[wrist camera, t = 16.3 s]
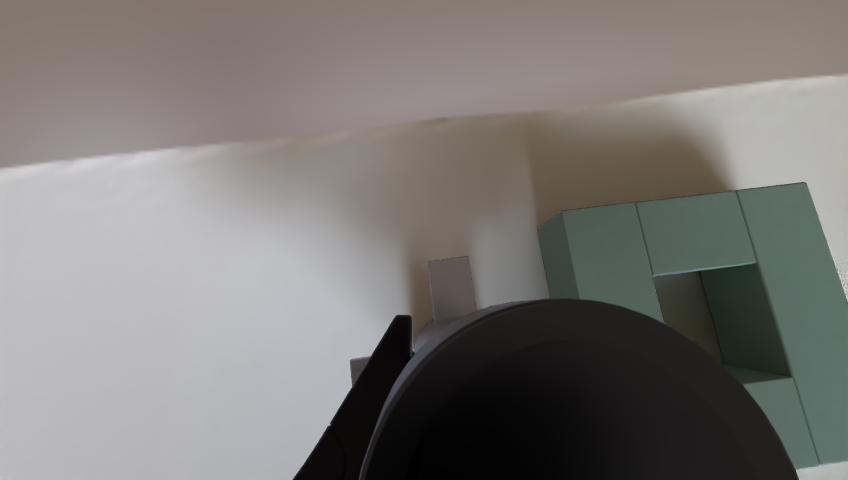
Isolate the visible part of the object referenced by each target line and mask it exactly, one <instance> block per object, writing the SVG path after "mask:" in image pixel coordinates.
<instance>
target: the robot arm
mask: <svg viewBox="0 0 848 480" xmlns="http://www.w3.org/2000/svg"><path fill="white" fill-rule="evenodd" d="M411 359H412V317H411V315H397V316H395V318H394V319H393V321H392V322H391V324H390V326H389V327H388V329H387V331H386V332H385V334H384V336H383V337H382V339H381V340H380V342H379V344H378V345H377V347H376V349H375V350H374V352H373V354H372V355H371V357H370V358H369V360H368V362H367V363H366V365H365V367H364V368H363V370H362V372H361V373H360V375H359V376H358V378H357V380H356V381H355V383H354V385H353V386H352V388H351V390H350V391H349V393H348V394H347V396H346V398H345V399H344V401H343V403H342V404H341V406H340V408H339V409H338V411H337V412H336V414H335V416H334V417H333V419H332V421H331V422H330V425H331V426H328V427H327V429H326V430H325V432H324V433H323V435H322V437H321V438H320V440H319V442H318V443H317V445H316V446H315V448H314V449H313V451H312V452H311V454H310V455H309V457H308V459H307V460H306V462H305V463H304V465H303V466H302V467H301V469H300V470H299V471H298V473H297V474H296V476H295V477H294V478H293V480H359V477H360V472H361V468H362V464H363V461H364V458H365V455H366V452H367V449H368V446H369V444H370V441H371V438H372V435H373V432H374V430H375V427H376V424H377V422H378V419H379V417H380V414H381V411H382V409H383V406H384V404H385V401H386V399H387V397H388V395H389V393H390V391H391V389H392V387H393V385H394V383H395V381H396V380H397V378H398V377H399V375H400V374H401V372H402V371H403V369H404V368H405V366H406V364H407V363H408V362H409V361H410V360H411Z"/></svg>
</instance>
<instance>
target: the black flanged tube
mask: <svg viewBox="0 0 848 480" xmlns="http://www.w3.org/2000/svg"><path fill="white" fill-rule="evenodd" d="M427 270H428V277H429V285H430V293H431V300H432V308H433V316H434V319H432V320H431V321H430V322H428V323H427V324H426V325H425V326H424V327H423V328H422V330H421V331H420V333H419V335H418V337H417V340H416V343H415V349H414V351H412V359H411V360H410V361H409V362H408V363H407V364H406V366H405V368H404V369H403V371H402V372H401V374H400V375H399V377H398V378H397V380H396V381H395V383H394V385H393V387H392V389H391V391H390V393H389V395H388V397H387V399H386V401H385V404H384V406H383V409H382V411H381V414H380V417H379V419H378V422H377V424H376V427H375V430H374V432H373V435H372V438H371V441H370V444H369V446H368V449H367V452H366V455H365V458H364V461H363V464H362V468H361V472H360V477H359V480H799V478H798V476H797V473H796V470H795V468H794V465H793V463H792V461H791V459H790V457H789V455H788V453H787V451H786V449H785V447H784V445H783V443H782V441H781V439H780V437H779V435H778V434H777V432H776V430H775V429H774V427H773V426H772V424H771V422H770V421H769V419H768V418H767V416H766V414H765V413H764V411H763V410H762V409H761V407H760V406H759V405H758V403H757V402H756V401H755V400H754V398H753V397H752V396H751V395H750V393H749V392H748V391H747V389H746V388H745V387H744V386H743V385H742V384H741V383H740V382H739V380H738V379H737V378H736V377H735V376H734V375H733V374H732V373H731V372H730V371H729V370H728V369H727V368H726V367H725V366H724V365H723V364H722V363H721V362H719V361H718V360H717V359H716V358H715V357H713V356H712V355H711V354H710V353H708V352H707V351H706V350H705V349H703V348H702V347H701V346H700V345H699V344H697V343H696V342H694V341H693V340H691V339H690V338H688V337H687V336H685V335H684V334H682V333H680V332H679V331H677V330H676V329H674V328H673V327H671V326H669V325H667V324H665V323H663V322H661V321H659V320H656V319H654V318H652V317H650V316H648V315H646V314H643V313H640V312H637V311H635V310H632V309H629V308H626V307H623V306H620V305H615V304H610V303H605V302H600V301H596V300H587V299H573V298H558V299H542V300H530V301H519V302H509V303H504V304H499V305H494V306H490V307H487V308H484V309H481V310H478V311H476V304H475V298H474V291H473V285H472V278H471V271H470V265H469V258H468V256H466V257H458V258H450V259H442V260H434V261H427ZM370 357H371V356H369V357H361V358H354V359H351V360H350V366H351V378H352V386H353V385H354V383H355V381H356V380H357V378H358V376H359V375H360V373H361V372H362V370H363V368H364V367H365V365H366V363H367V362H368V360H369V358H370Z"/></svg>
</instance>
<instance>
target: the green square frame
mask: <svg viewBox="0 0 848 480" xmlns="http://www.w3.org/2000/svg"><path fill="white" fill-rule="evenodd" d="M537 230H538V235H539V240H540V245H541V251H542V256H543V261H544V267H545V272H546V277H547V282H548V288H549V293H550V298H551V299H558V298H573V299H587V300H596V301H600V302H605V303H610V304H615V305H620V306H623V307H626V308H629V309H632V310H635V311H637V312H640V313H643V314H646V315H648V316H650V317H652V318H654V319H656V320H659V321H661V322H663V323H664V321H663V317H662V313H661V309H660V305H659V301H658V297H657V293H656V289H655V285H654V281H653V277H657V276H665V275H673V274H681V273H689V272H697V271H700V274H701V277H702V281H703V285H704V288H705V292H706V296H707V299H708V303H709V307H710V310H711V314H712V318H713V321H714V325H715V329H716V332H717V336H718V340H719V344H720V347H721V351H722V355H723V358H724V362H725V365H724V366H725V367H726V368H727V369H728V370H729V371H730V372H731V373H732V374H733V375H734V376H735V377H736V378H737V379H738V380H739V382H740V383H741V384H742V385H743V386H744V387H745V388H746V389H747V391H748V392H749V393H750V395H751V396H752V397H753V398H754V400H755V401H756V402H757V403H758V405H759V406H760V407H761V409H762V410H763V411H764V413H765V414H766V416H767V418H768V419H769V421H770V422H771V424H772V426H773V427H774V429H775V430H776V432H777V434H778V435H779V437H780V439H781V441H782V443H783V445H784V447H785V449H786V451H787V453H788V455H789V457H790V459H791V461H792V463H793V465H794V468H795V470H797V469H804V468H811V467H817V466H819V465H827V464H834V463H841V462H847V461H848V302H847V299H846V296H845V293H844V290H843V288H842V285H841V282H840V279H839V276H838V273H837V270H836V267H835V264H834V261H833V259H832V256H831V253H830V250H829V247H828V244H827V241H826V238H825V235H824V232H823V230H822V227H821V224H820V221H819V218H818V215H817V212H816V209H815V206H814V203H813V201H812V198H811V195H810V192H809V189H808V186H807V183H805V182H801V183H792V184H784V185H775V186H767V187H759V188H750V189H742V190H735V191H725V192H716V193H708V194H700V195H691V196H683V197H674V198H666V199H657V200H649V201H641V202H635V203H634V202H630V203H622V204H614V205H605V206H597V207H588V208H580V209H571V210H563V211H561V212H559V213H558V214H556V215H555V216H553V217H552V218H550V219H549V220H548V221H546V222H545V223H543V224H542V225H540V226H539V227H537Z"/></svg>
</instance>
